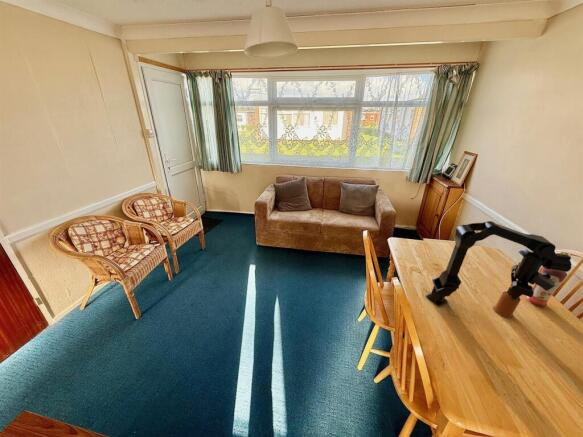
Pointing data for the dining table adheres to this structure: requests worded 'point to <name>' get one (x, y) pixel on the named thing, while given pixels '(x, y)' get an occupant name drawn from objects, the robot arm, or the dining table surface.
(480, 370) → the dining table surface
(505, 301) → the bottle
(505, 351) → the dining table surface
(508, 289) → the cap
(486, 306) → the dining table surface
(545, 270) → the liquor
